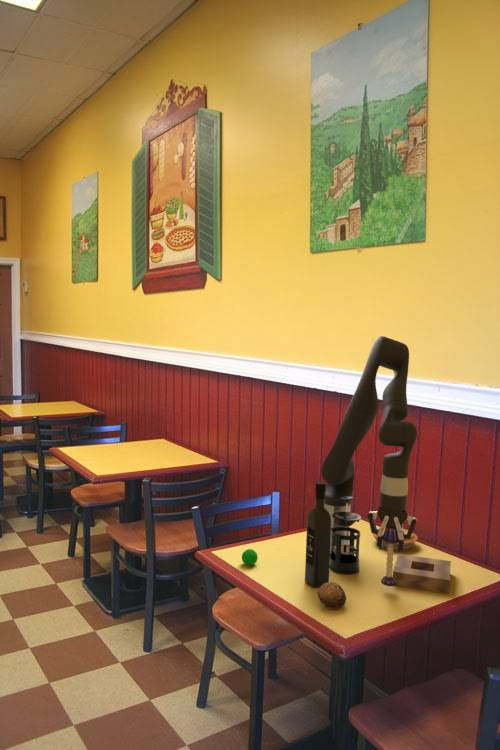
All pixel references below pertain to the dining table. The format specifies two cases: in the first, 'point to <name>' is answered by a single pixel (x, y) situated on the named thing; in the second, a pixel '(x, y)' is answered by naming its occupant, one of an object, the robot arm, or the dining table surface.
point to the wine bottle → (318, 540)
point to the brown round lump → (332, 595)
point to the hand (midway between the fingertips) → (390, 549)
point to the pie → (407, 542)
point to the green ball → (249, 557)
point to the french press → (345, 553)
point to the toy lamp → (390, 554)
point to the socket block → (422, 573)
